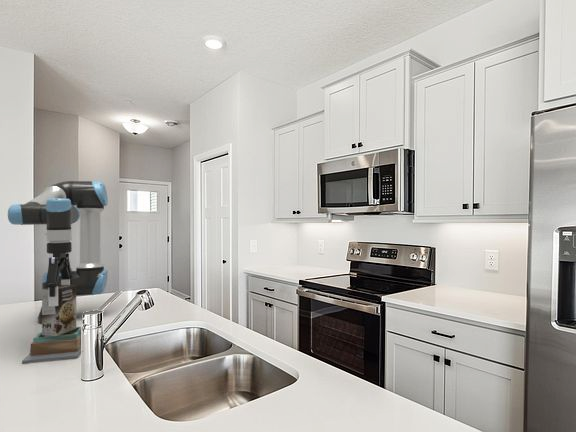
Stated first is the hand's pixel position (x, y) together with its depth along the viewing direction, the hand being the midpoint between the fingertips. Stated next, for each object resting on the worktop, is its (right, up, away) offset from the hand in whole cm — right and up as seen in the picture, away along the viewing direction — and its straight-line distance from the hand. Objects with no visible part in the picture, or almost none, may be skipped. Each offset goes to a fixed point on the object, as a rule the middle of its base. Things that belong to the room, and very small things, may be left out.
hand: (59, 301), depth 131 cm
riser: (0, -17, 0) cm, 17 cm away
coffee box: (0, -11, 0) cm, 11 cm away
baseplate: (0, -17, 0) cm, 17 cm away
